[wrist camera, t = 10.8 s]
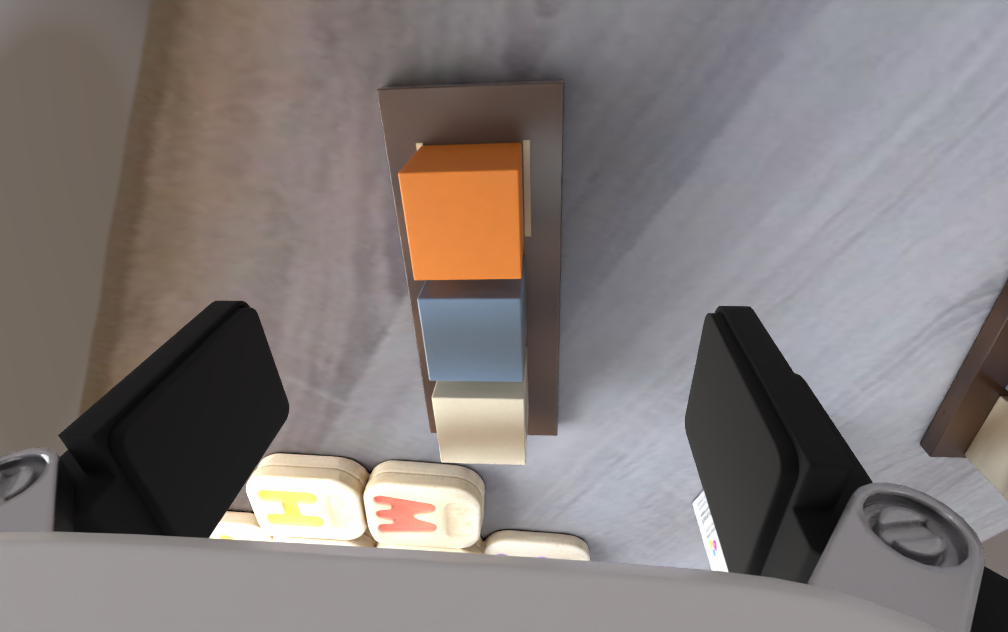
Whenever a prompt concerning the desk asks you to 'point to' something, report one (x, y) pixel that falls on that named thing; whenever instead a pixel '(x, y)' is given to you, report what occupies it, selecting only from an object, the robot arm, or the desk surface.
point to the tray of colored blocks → (487, 302)
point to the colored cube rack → (978, 404)
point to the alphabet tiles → (379, 509)
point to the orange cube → (464, 211)
